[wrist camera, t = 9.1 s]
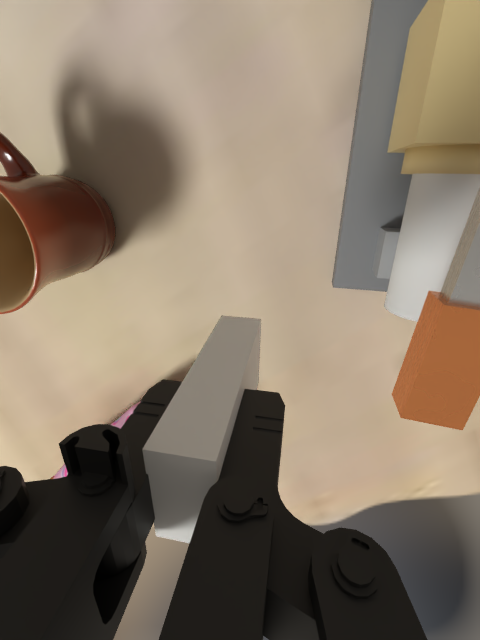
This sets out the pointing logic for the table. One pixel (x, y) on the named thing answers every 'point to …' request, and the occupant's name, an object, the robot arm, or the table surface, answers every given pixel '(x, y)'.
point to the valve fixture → (412, 151)
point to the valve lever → (446, 342)
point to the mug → (46, 228)
